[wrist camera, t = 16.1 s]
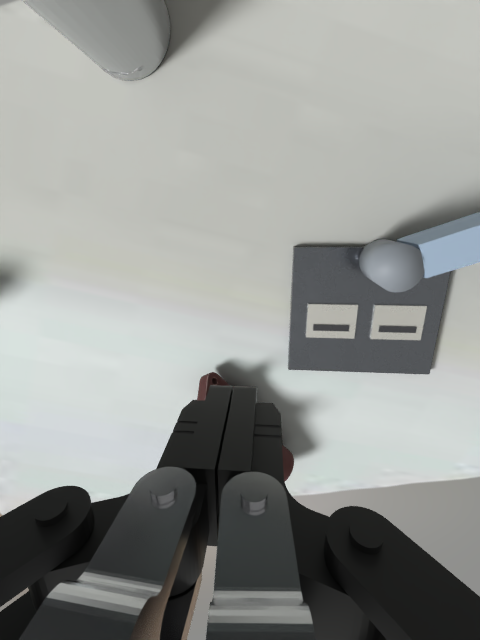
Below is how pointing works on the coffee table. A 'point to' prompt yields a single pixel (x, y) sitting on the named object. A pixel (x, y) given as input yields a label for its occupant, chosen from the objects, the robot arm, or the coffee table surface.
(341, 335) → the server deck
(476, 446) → the coffee table surface
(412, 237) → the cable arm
